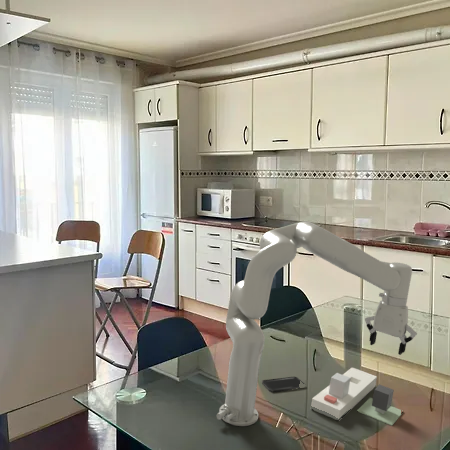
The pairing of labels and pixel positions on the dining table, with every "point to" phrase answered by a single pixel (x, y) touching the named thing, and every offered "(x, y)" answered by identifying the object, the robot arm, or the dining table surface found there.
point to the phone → (282, 384)
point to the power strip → (357, 391)
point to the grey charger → (339, 385)
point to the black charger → (382, 398)
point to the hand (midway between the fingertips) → (386, 348)
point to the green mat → (387, 417)
